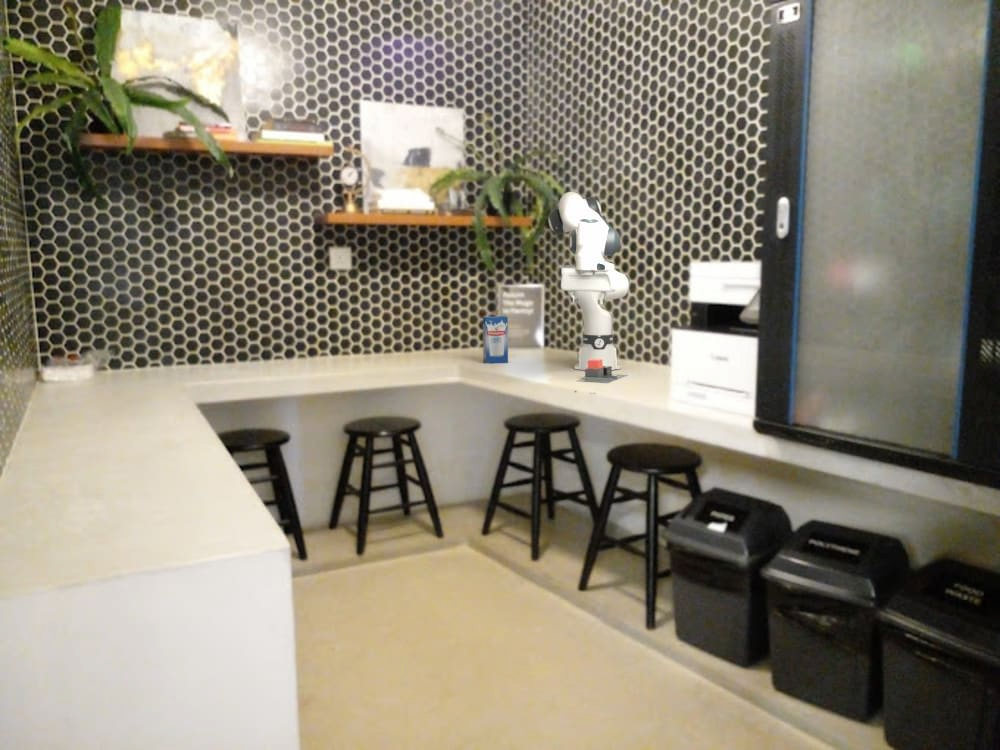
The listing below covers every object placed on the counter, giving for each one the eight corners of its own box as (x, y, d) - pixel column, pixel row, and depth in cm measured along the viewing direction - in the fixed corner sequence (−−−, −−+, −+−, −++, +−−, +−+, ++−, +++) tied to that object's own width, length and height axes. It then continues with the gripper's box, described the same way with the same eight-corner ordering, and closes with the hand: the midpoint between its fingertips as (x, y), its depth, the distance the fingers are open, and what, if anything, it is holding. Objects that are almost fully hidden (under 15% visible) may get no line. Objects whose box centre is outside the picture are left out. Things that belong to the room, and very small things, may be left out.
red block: (592, 367, 270) (591, 359, 270) (602, 367, 268) (602, 359, 268) (587, 369, 267) (587, 360, 266) (598, 368, 265) (598, 360, 264)
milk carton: (485, 363, 326) (485, 317, 323) (483, 361, 332) (482, 316, 329) (508, 362, 328) (507, 317, 325) (505, 361, 334) (504, 316, 331)
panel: (598, 377, 282) (598, 363, 282) (628, 379, 277) (628, 365, 276) (575, 385, 263) (575, 370, 263) (607, 387, 258) (607, 372, 257)
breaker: (590, 376, 271) (590, 366, 271) (603, 377, 269) (603, 367, 269) (585, 378, 267) (585, 368, 267) (598, 379, 265) (598, 369, 264)
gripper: (558, 264, 269) (557, 303, 271) (612, 265, 259) (611, 305, 262) (565, 264, 274) (564, 302, 277) (618, 265, 265) (617, 304, 267)
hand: (587, 304), depth 269 cm, fingers open, 8 cm apart
